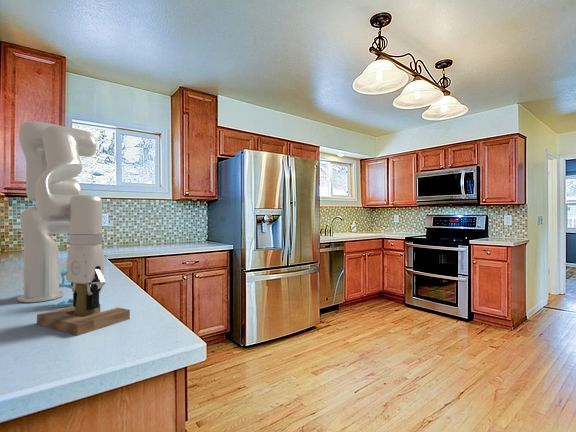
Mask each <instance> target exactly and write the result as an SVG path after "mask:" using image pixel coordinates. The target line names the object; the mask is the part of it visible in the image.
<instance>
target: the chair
mask: <svg viewBox="0 0 576 432" xmlns="http://www.w3.org/2000/svg"><path fill="white" fill-rule="evenodd" d="M60 276H61V279H62V281H61V283H58V288H68V289H71V290H72V285H71V282H69V281H67V279H66V267H65V268H63V269H62V270H61V272H60ZM54 306H55V309H58V308H59V309H60V308H66V307H70V306H73V298H67V299H65V300H62V301H61V302H59V303H57V304H55V305H54Z"/></svg>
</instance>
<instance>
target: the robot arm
mask: <svg viewBox="0 0 576 432" xmlns="http://www.w3.org/2000/svg"><path fill="white" fill-rule="evenodd" d="M18 139H19V144H20V146H21V150H22V152H23V156H24V157H25V181H26V182H25V189H26V196H27V198H28V200H29V201H31V202H33V203H36V206H33V207H32V206H31V207H27V208H25V209H23V210H22V212H21V213H20V216H19V218H20V219H19V221H20V225H21V226H20V227H21V231H22V239H23V287H22V290H23V294H21V295H19V296H18V297H17V302H19V303H39V302H47V301H53V300H57V299H59V298H63V296H64V295H65V294H64V291H63V290H59V246H58V244H57V242H56V241H55V240H54V239H53V238H52V237H51V236H50V235H58V234H59V235H60V234H61V235H62V234H69V246H68V251H67V257H66V267H65V268H66V275H65V280H66V282H67V281H69V282H71V285H72V289H71V292H72V296H73V297H72V299H73V302H72V303H73V307H75V306H76V300H77V293H76V291H75V285H76V283H77V284H84V285H87V291H88V295H86V310H91V309H95V308H98V307H99V304H100V294H101V290H102V288H103V287H104V286H105V284H106V280H105V278H104V277H105V261H104V258H105V257H104V252H103V251H104V250H103V200H102V198H101V197H100V196H98V195H92V194H86V195H85V194H83V191H82V190H83V189H82V186H81V183H80V182H79V180H77V179H76V177H77V176H79V175H80V174H82V173H81V172H82V171H83V164H82V160H81V158H80V157H86V158H87V157H88V158H89V157H90V158H91V157H92V156H94V155H95V153H96V151H97V141H96V138H95V136H94V135H93V133H92V132H91V131H87V130H83V129H78V128H75V127H68V126H66V125H64V126H63V125H59V124H54V123H48V122H43V121H37V120H33V121H32V120H29V121H28V120H27V121H24V122H23V123H21V125H20V126H19V130H18ZM92 280H93V281H95V282H92ZM90 282H91V283H90ZM94 284H95V285H94ZM91 285H94V286H93V288H92V287H91Z"/></svg>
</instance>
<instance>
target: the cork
mask: <svg viewBox="0 0 576 432" xmlns="http://www.w3.org/2000/svg"><path fill="white" fill-rule="evenodd" d="M92 282H95V281H93V280H92ZM90 283H91V282H90ZM94 285H95V284H94ZM94 285H91V287H92V288H93V286H94ZM75 291H76V293H77V300H76V306H75V313H74V315H75V316H79V317H85V316H89V315H92V314H96V313H98V309H97V308H95V309H91V310H86V295H88V291H87V285H84V284H77V283H76V285H75Z"/></svg>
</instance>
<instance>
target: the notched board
mask: <svg viewBox="0 0 576 432" xmlns="http://www.w3.org/2000/svg"><path fill="white" fill-rule="evenodd" d="M97 309H98V313H96V314H92V315H89V316H85V317H79V316H75V315H74V313H75V307H73V306H69V307H61V308H59V309H58V308H57V309H54V310H49V311H46V312H42V313H37V314H36V324H37V325H40V326H43V327H46V328H50V329H54V330H57V331H61V332H65V333H68V334H72V335H75V336H80V334H81V335H84V334H86V333H89V332H93V331H95V330H99V329H102V328H105V327H108V326H111V325H115V324H118V323H121V322H124V321H127V320H131V319H130V317H131V310H130V309H129V308H128V309H127V308H124V307H115V308H111V309H107V310H103V311H101V303H99V307H98V308H97Z"/></svg>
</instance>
